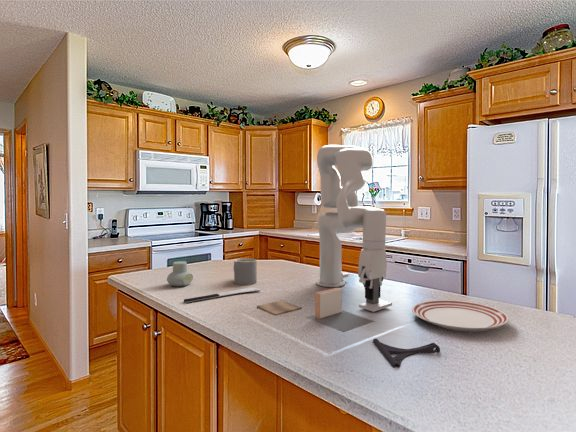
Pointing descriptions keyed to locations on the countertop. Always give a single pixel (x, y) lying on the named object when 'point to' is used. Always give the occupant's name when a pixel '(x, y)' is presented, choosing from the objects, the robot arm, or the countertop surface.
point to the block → (328, 303)
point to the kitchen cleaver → (219, 295)
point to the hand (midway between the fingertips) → (372, 297)
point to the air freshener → (180, 274)
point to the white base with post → (375, 300)
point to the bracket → (402, 351)
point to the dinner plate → (460, 315)
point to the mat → (343, 321)
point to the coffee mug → (245, 271)
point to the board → (279, 307)
